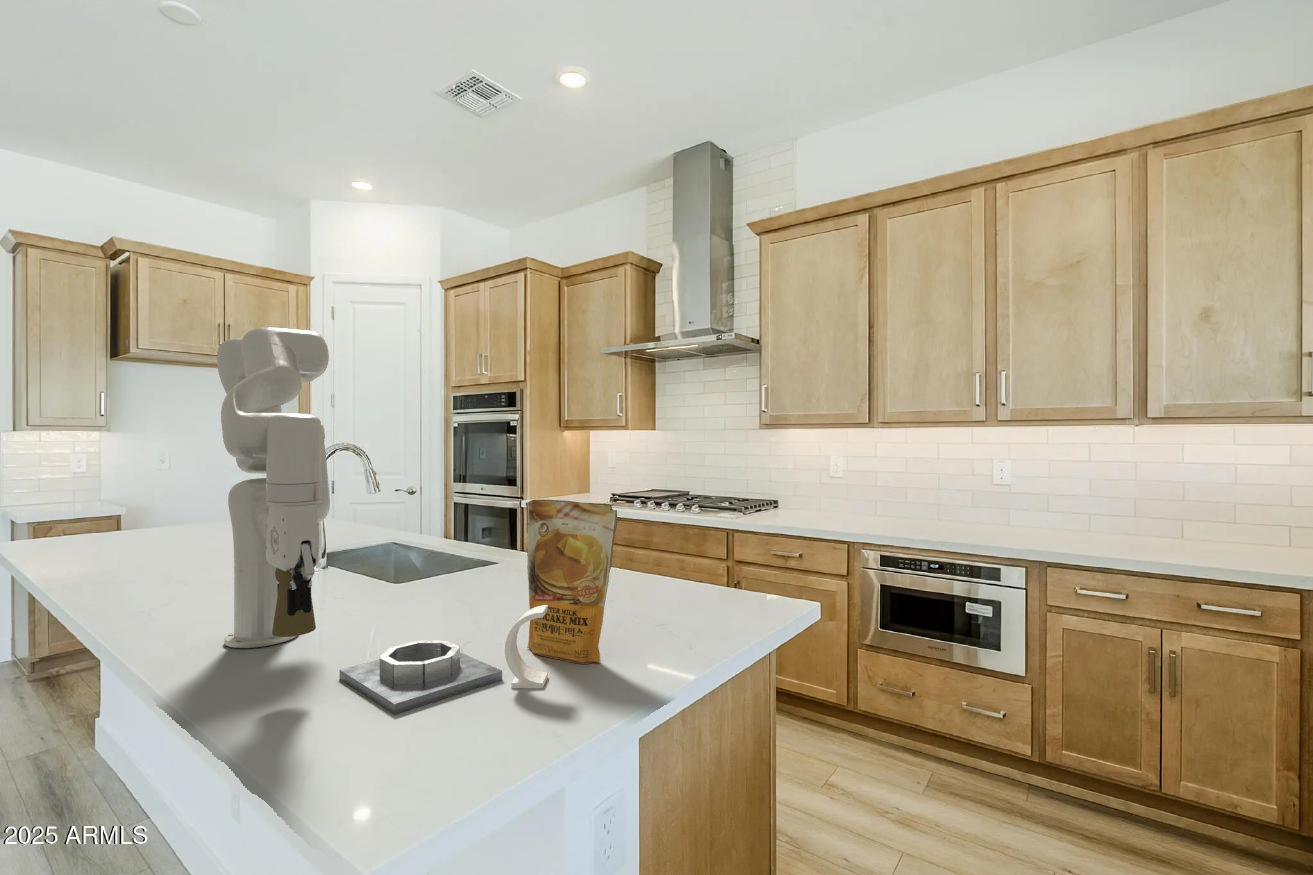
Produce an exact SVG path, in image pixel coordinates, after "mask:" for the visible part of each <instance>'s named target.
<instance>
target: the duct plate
mask: <svg viewBox="0 0 1313 875" xmlns="http://www.w3.org/2000/svg"><path fill="white" fill-rule="evenodd" d="M339 679H340V680H341V681H342V682H344V683H346V684H347V685H348V686H350V687H352V688H353V689H355V690H356V691H358V692H359V693H361V694H363V696H365V697H367V698H368V699H370V700H372V701H373V702H374V703H376V704H378V705H379V706H381V707H382V708H384V709H385V710H386V711H388V712H390V713H392V714H393V715H398V714H401V713H403V712H407V711H409V710H413V709H417V708H420V707H421V706H426V705H428V704H430V703H431V704H433V703H434V702H438V701H440V700H444V699H448V698H450V697H453V696H456V695H460V694H462V693H463V694H464V693H466V692H469V691H471V690H475V689H477V688H481V687H483V686H486V685H490V684H493V683H497V682H499V681H503V670H502V669H500V668H497V667H496V666H493V665H490V664H488V663H486V662H483V661H481V660H479V659H477V658H474V657H472V656H469V655H467V654H466V653H463V652H461V647H460V646H459V645H457V644H455V643H453V642H450V641H448V640H415V641H412V642H407V643H402V644H400V645H395V646H392V647H389V648H388V649H387V650H385V651H384V653H382V654H381V655H380V656H379V659H376V660H373V661H369V662H365V663H362V664H357V665H353V666H349V667H346V668H342V669H339Z"/></svg>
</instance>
